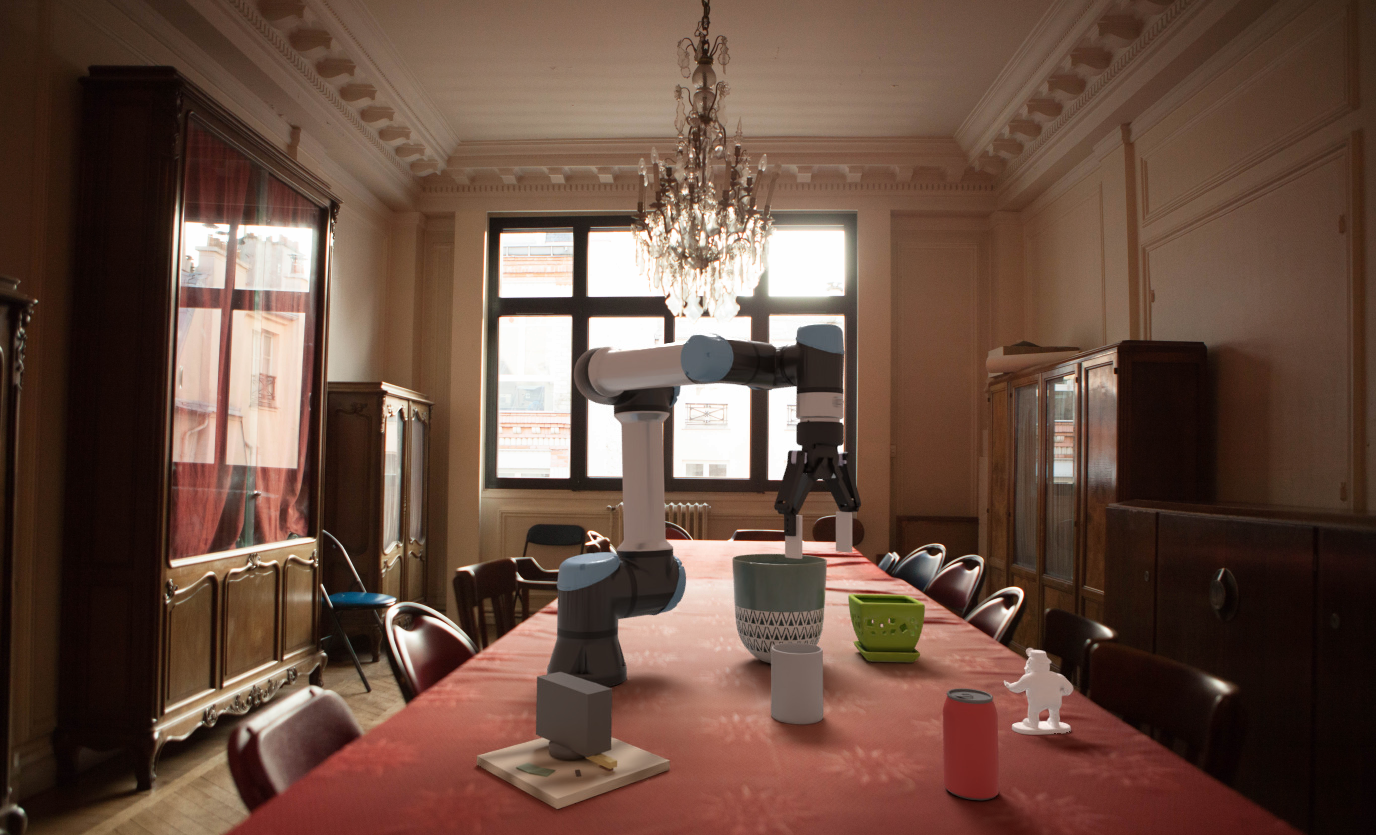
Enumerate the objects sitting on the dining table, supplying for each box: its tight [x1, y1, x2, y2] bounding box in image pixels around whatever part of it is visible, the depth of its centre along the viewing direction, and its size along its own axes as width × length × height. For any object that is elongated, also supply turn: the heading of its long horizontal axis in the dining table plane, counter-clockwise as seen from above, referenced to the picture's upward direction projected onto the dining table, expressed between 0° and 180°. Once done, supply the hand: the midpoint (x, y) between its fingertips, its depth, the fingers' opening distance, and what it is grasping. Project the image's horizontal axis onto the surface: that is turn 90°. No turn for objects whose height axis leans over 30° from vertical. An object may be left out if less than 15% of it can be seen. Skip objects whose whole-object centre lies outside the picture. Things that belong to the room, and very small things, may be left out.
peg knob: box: [535, 672, 617, 769], centre depth 107 cm, size 15×6×9 cm, turn 44°
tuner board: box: [476, 736, 671, 810], centre depth 106 cm, size 19×18×1 cm
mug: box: [770, 643, 824, 725], centre depth 130 cm, size 12×8×11 cm
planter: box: [731, 553, 828, 664], centre depth 165 cm, size 20×20×21 cm
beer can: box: [942, 687, 1000, 801], centre depth 99 cm, size 7×7×12 cm
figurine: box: [1003, 647, 1074, 736], centre depth 123 cm, size 9×7×12 cm
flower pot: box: [848, 593, 926, 664], centre depth 169 cm, size 14×14×13 cm
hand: (819, 555), depth 124 cm, fingers open, 13 cm apart
